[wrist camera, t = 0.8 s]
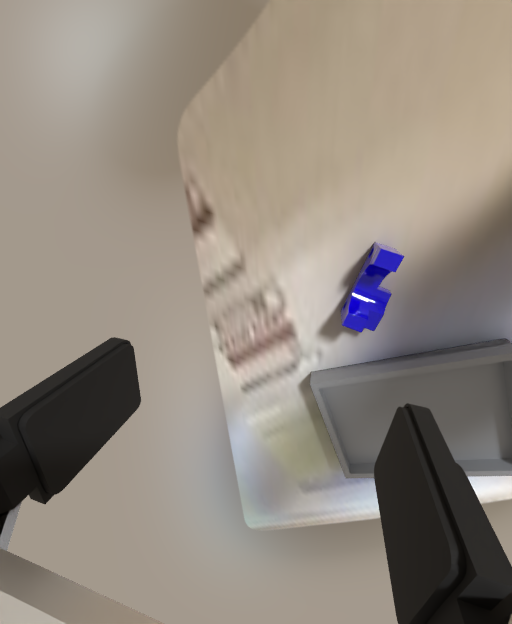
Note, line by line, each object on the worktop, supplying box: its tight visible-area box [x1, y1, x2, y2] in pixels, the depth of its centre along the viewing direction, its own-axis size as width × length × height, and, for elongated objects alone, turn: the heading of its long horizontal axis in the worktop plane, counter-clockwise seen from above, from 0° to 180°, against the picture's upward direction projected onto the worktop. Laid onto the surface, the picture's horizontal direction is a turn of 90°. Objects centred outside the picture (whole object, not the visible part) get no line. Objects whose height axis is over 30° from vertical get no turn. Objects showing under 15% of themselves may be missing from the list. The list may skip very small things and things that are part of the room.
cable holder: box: [341, 242, 404, 332], centre depth 26 cm, size 8×4×4 cm, turn 163°
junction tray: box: [310, 339, 512, 478], centre depth 31 cm, size 20×16×2 cm
